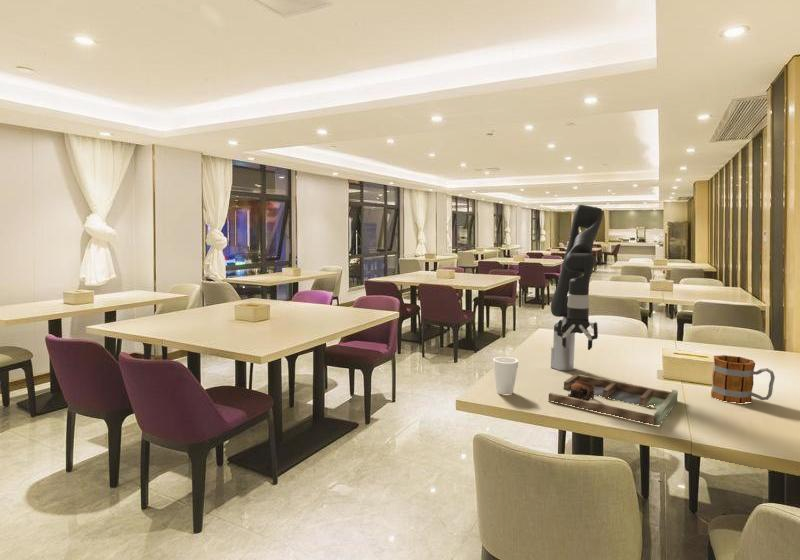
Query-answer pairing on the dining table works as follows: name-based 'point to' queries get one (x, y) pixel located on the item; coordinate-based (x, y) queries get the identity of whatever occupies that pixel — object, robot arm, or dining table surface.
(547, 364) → the dining table surface
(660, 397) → the wooden divided tray
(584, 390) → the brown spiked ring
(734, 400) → the mug
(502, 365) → the foam cup
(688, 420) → the dining table surface
